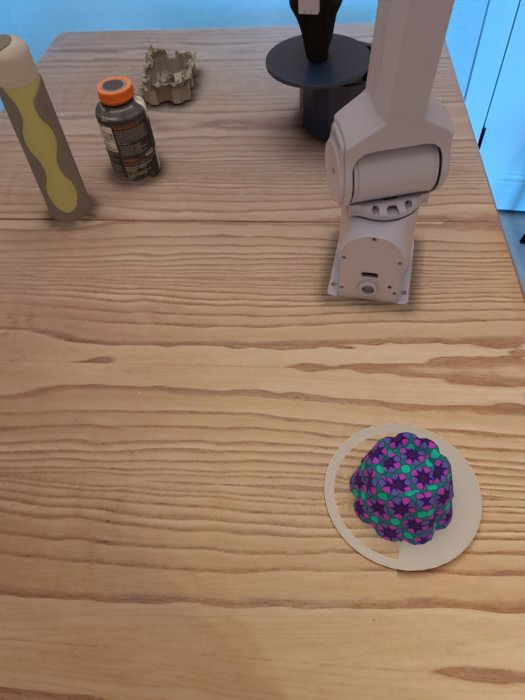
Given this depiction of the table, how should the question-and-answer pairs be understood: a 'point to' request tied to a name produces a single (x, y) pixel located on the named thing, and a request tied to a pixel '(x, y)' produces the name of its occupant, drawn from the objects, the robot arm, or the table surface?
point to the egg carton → (167, 76)
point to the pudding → (410, 496)
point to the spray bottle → (40, 132)
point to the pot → (327, 105)
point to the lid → (318, 63)
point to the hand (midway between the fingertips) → (318, 52)
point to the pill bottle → (126, 130)
